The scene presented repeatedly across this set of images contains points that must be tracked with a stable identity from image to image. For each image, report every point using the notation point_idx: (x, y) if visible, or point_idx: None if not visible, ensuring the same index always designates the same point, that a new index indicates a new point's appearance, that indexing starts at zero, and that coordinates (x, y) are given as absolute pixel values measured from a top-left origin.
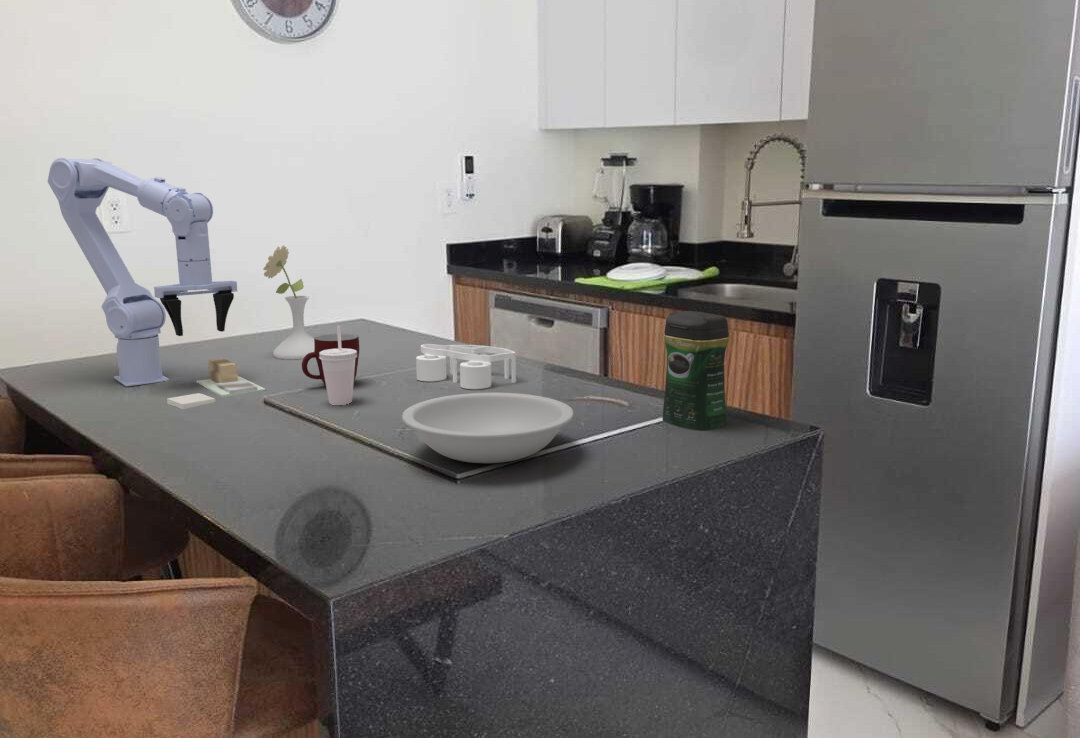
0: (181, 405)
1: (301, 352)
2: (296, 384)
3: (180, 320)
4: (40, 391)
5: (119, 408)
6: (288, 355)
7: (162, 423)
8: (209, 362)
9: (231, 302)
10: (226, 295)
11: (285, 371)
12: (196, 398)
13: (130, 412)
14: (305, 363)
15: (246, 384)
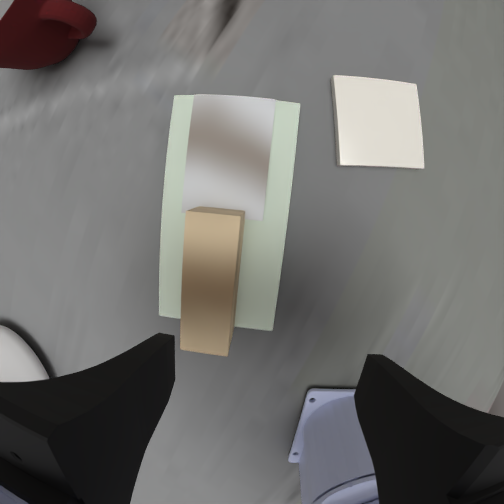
0: (415, 89)
1: (6, 341)
2: (81, 149)
3: (410, 388)
4: None
5: (487, 213)
6: (28, 357)
7: (460, 34)
8: (229, 341)
9: (28, 383)
10: (16, 414)
11: (54, 305)
12: (371, 110)
13: (486, 160)
14: (82, 6)
15: (202, 140)
